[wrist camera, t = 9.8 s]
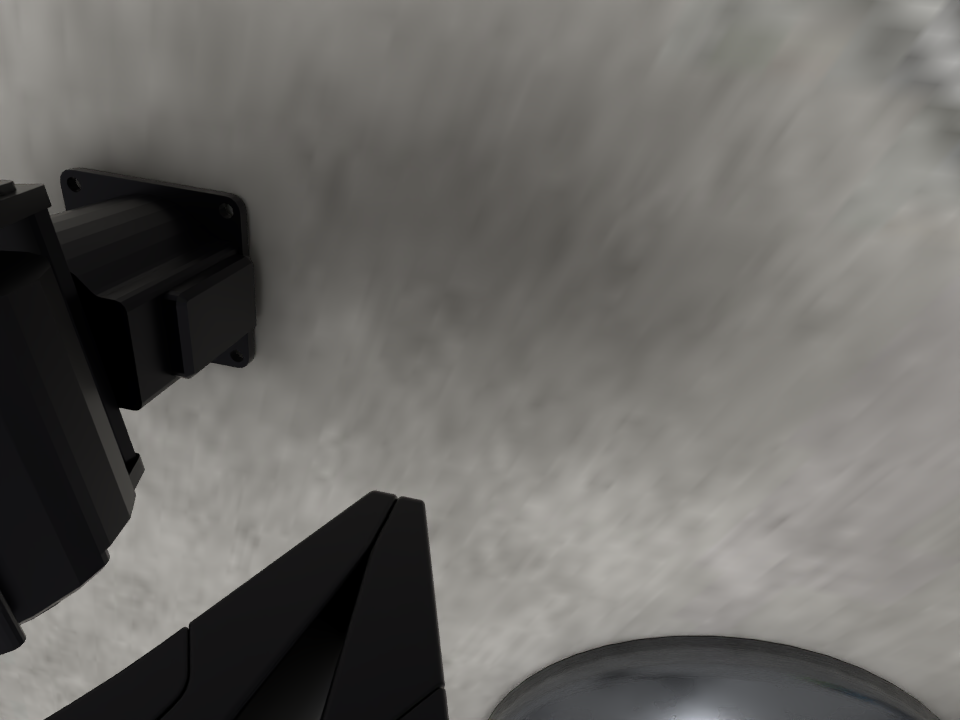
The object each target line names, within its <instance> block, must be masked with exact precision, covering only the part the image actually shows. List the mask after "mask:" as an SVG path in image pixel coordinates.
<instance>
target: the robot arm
mask: <svg viewBox="0 0 960 720" xmlns="http://www.w3.org/2000/svg"><path fill="white" fill-rule="evenodd" d="M76 179H77V180H78V181H79V182H80V185H81V189H80V187H79V186H78V185H77V183H76ZM60 183H61V188H62V193H63V198H64V203H65V208H66V211H65V212H62V213H58V214H55V215H51V216H50V214H49V212H48V209H47V208H49V207H51V203H50V200H49V197H48V195H47V192H46V189H45V186H44V184H14V182H13V181H11V180H0V655H1V654H4V653H7V652H10V651H13V650H15V649H17V648H18V647H20V646H21V645H22V644H23V643H24V642H25V640H26V635H25V633H24V632H23V630H22V628H21V626H20V625H21V624H23V623H25V622H27V621H29V620H32V619H34V618H35V617H37V616H39V615H40V614H42V613H44V612H45V611H47V610H49V609H50V608H52V607H54V606H55V605H57V604H58V603H59V602H60V601H62V600H63V599H65V598H66V597H68V596H69V595H71V594H72V593H74V592H76V591H77V590H79V589H80V588H81V587H82V586H83V585H84V584H86V583H87V582H88V581H89V580H90V579H91V578H93V577H94V576H95V575H96V574H97V573H99V572H100V571H101V570H102V569H103V567H104V566H105V565H106V564H107V562H108V561H109V558H110V555H109V553H108V550H107V548H108V547H109V546H110V545H111V544H112V543H113V541H114V540H115V539H116V537H117V536H118V534H119V533H120V532H121V530H122V529H123V527H124V526H125V525H126V523H127V522H128V521H129V519H130V518H131V514H132V510H133V505H134V501H135V497H136V494H135V491H134V490H135V488H136V486H137V484H138V482H139V480H140V478H141V476H142V474H143V472H144V470H145V468H144V465H143V463H142V460H141V457H140V455H139V454H138V453H135V452H134V449H133V446H132V443H131V441H130V438H129V435H128V432H127V429H126V427H125V424H124V421H123V418H122V415H121V413H120V410H119V408H124V409H129V410H139V409H141V408H142V407H143V406H145V405H146V404H147V403H149V402H150V401H151V400H152V399H154V398H155V397H156V396H158V395H159V394H160V393H161V392H163V391H164V390H165V389H167V388H168V387H169V386H170V385H172V384H173V383H174V382H176V381H177V380H178V379H179V378H186V379H189V378H192V377H193V376H194V375H195V374H197V373H198V372H199V371H200V370H202V369H203V368H204V367H205V366H207V365H208V364H209V363H210V362H211V363H216V364H221V365H227V366H232V367H237V368H243V367H245V366H247V365H248V364H249V363H250V362H251V361H252V360H253V359H254V354H255V353H254V336H253V328H254V327H255V326H256V306H255V288H254V269H253V263H252V261H251V259H250V258H249V249H248V231H247V214H246V207H245V204H244V203H243V201H242V200H241V199H240V198H239V197H238V196H236V195H234V194H231V193H225V192H219V191H213V190H207V189H201V188H195V187H190V186H184V185H178V184H172V183H166V182H160V181H154V180H149V179H143V178H137V177H131V176H125V175H119V174H113V173H108V172H102V171H96V170H90V169H84V168H73V169H68V170H65V171H64V172H62V174H61V176H60ZM226 204H228V205H230V206H231V207H232V209H233V216H232V215H229V214H228V212H227V211H226V208H225V206H226ZM236 350H237V351H240V352H241V353H242V355H243V357H240V356H239V355H238V354H237V353H236ZM444 686H445V682H444V673H443V664H442V655H441V646H440V637H439V628H438V619H437V610H436V601H435V591H434V582H433V573H432V564H431V555H430V546H429V537H428V528H427V519H426V510H425V503H424V502H423V501H422V500H418V499H414V498H409V497H404V496H401V497H399V498H397V496H396V495H394V494H390V493H385V492H380V491H371V492H369V493H368V494H366V495H365V496H364V497H362V498H361V499H360V500H358V501H357V502H355V503H354V504H353V505H351V506H350V507H349V508H347V509H346V510H344V511H343V512H342V513H340V514H339V515H338V516H336V517H335V518H333V519H332V520H331V521H329V522H328V523H327V524H325V525H324V526H322V527H321V528H320V529H318V530H317V531H316V532H314V533H313V534H311V535H310V536H309V537H307V538H306V539H305V540H303V541H302V542H300V543H299V544H298V545H296V546H295V547H294V548H292V549H291V550H289V551H288V552H287V553H285V554H284V555H283V556H281V557H280V558H278V559H277V560H276V561H274V562H273V563H272V564H270V565H269V566H267V567H266V568H265V569H263V570H262V571H261V572H259V573H258V574H256V575H255V576H254V577H252V578H251V579H250V580H248V581H247V582H245V583H244V584H243V585H241V586H240V587H239V588H237V589H236V590H234V591H233V592H232V593H230V594H229V595H228V596H226V597H225V598H223V599H222V600H221V601H219V602H218V603H216V604H215V605H214V606H212V607H211V608H210V609H208V610H207V611H205V612H204V613H203V614H201V615H200V616H199V617H197V618H196V619H194V620H193V621H192V622H190V624H189V629H188V628H187V627H183V628H182V629H180V630H179V631H178V632H176V633H175V634H173V635H172V636H171V637H169V638H168V639H167V640H165V641H164V642H162V643H161V644H160V645H158V646H157V647H155V648H154V649H153V650H151V651H150V652H148V653H147V654H145V655H144V656H142V657H141V658H140V659H138V660H137V661H135V662H134V663H132V664H131V665H129V666H128V667H127V668H125V669H124V670H122V671H121V672H119V673H118V674H116V675H115V676H113V677H112V678H110V679H108V680H107V681H105V682H104V683H102V684H101V685H99V686H97V687H96V688H94V689H93V690H91V691H89V692H88V693H86V694H85V695H83V696H82V697H80V698H78V699H77V700H75V701H74V702H72V703H71V704H69V705H67V706H66V707H64V708H62V709H61V710H59V711H57V712H56V713H54V714H52V715H51V716H49V717H48V718H46V719H44V720H449V717H448V707H447V698H446V691H445V689H444Z"/></svg>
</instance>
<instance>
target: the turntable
mask: <svg viewBox="0 0 960 720" xmlns="http://www.w3.org/2000/svg"><path fill="white" fill-rule="evenodd" d="M489 720H940V719H938V718H937V717H936V716H935V715H934V714H933V713H932V712H930V711H929V710H928V709H927V708H926V707H925V706H924V705H922V704H921V703H920V702H919V701H917V700H916V699H914V698H913V697H911V696H910V695H908V694H907V693H905V692H904V691H902V690H901V689H899V688H898V687H896V686H895V685H893V684H891V683H889V682H887V681H885V680H883V679H881V678H879V677H877V676H875V675H873V674H871V673H869V672H867V671H865V670H863V669H861V668H858V667H855V666H853V665H850V664H847V663H845V662H842V661H839V660H837V659H834V658H831V657H829V656H825V655H822V654H818V653H814V652H810V651H807V650H803V649H799V648H795V647H792V646H786V645H780V644H775V643H769V642H763V641H757V640H750V639H739V638H727V637H715V636H676V637H665V638H654V639H643V640H636V641H631V642H625V643H620V644H615V645H609V646H605V647H601V648H598V649H595V650H591V651H588V652H584V653H581V654H577V655H575V656H572V657H570V658H568V659H565V660H563V661H560V662H558V663H556V664H553V665H551V666H549V667H547V668H545V669H544V670H542V671H540V672H538V673H537V674H535V675H533V676H532V677H530V678H528V679H527V680H525V681H524V682H523V683H522V684H520V685H519V686H518V687H516V688H515V689H514V690H513V691H511V692H510V693H509V694H508V695H507V696H506V697H505V698H504V700H503V701H502V702H501V703H500V704H499V705H498V706H497V707H496V708H495V710H494V712H493V713H492V715H491V717H490V718H489Z"/></svg>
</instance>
